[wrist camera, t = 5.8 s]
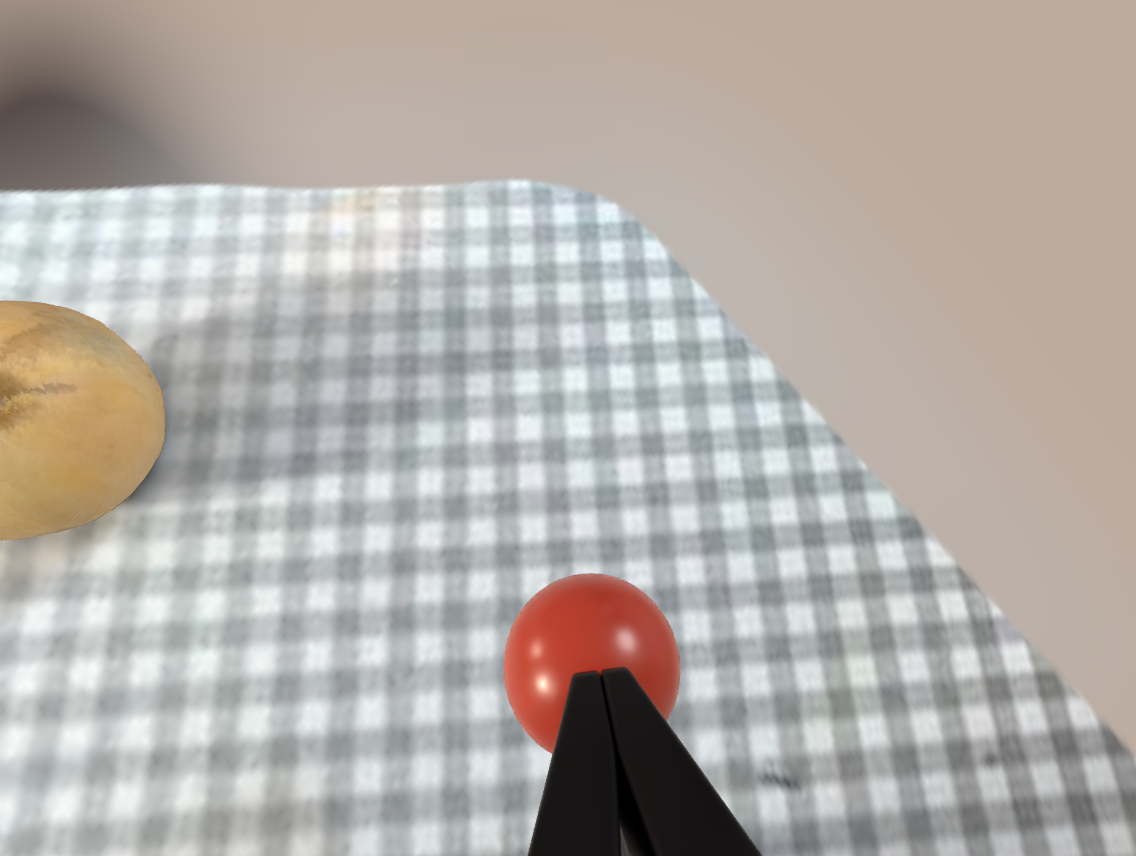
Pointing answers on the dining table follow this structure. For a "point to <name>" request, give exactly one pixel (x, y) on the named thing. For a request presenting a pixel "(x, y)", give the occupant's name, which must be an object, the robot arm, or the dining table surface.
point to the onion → (70, 419)
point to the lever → (586, 649)
